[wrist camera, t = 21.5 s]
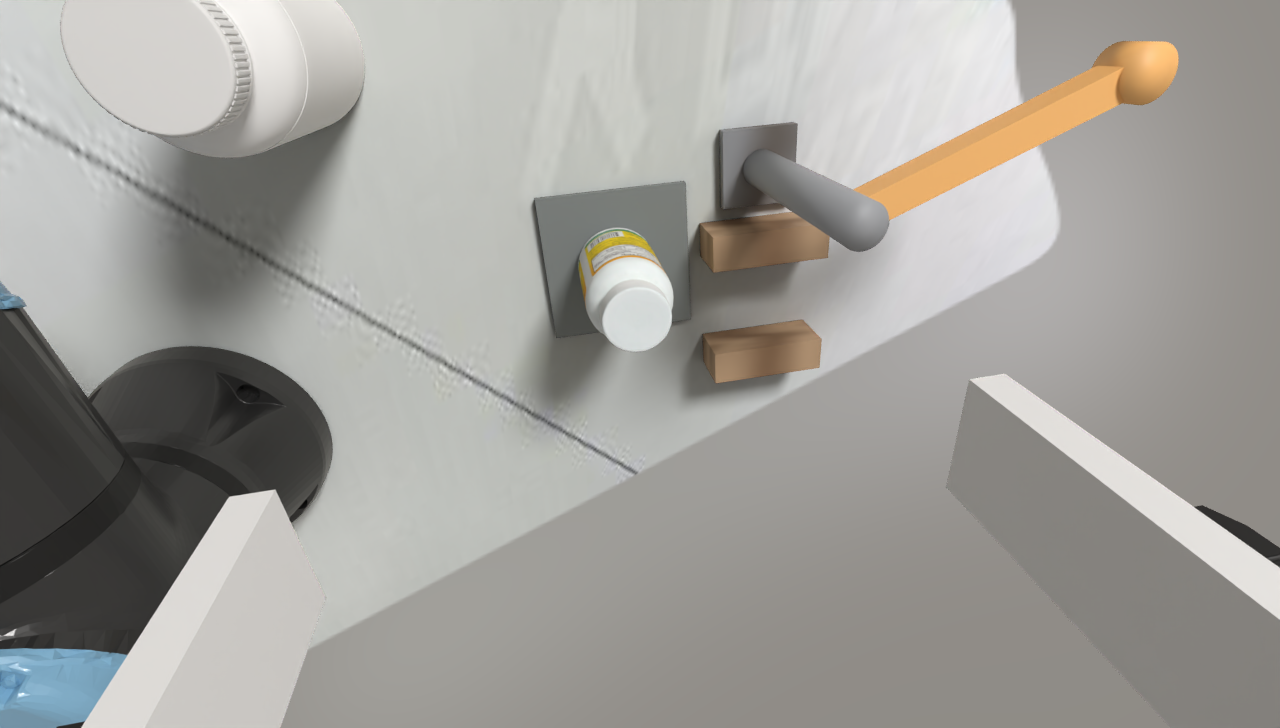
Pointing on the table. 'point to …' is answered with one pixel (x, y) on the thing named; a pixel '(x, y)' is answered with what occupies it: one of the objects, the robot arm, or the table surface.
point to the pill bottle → (217, 68)
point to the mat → (588, 213)
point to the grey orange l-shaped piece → (964, 148)
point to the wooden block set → (758, 260)
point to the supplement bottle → (625, 289)
